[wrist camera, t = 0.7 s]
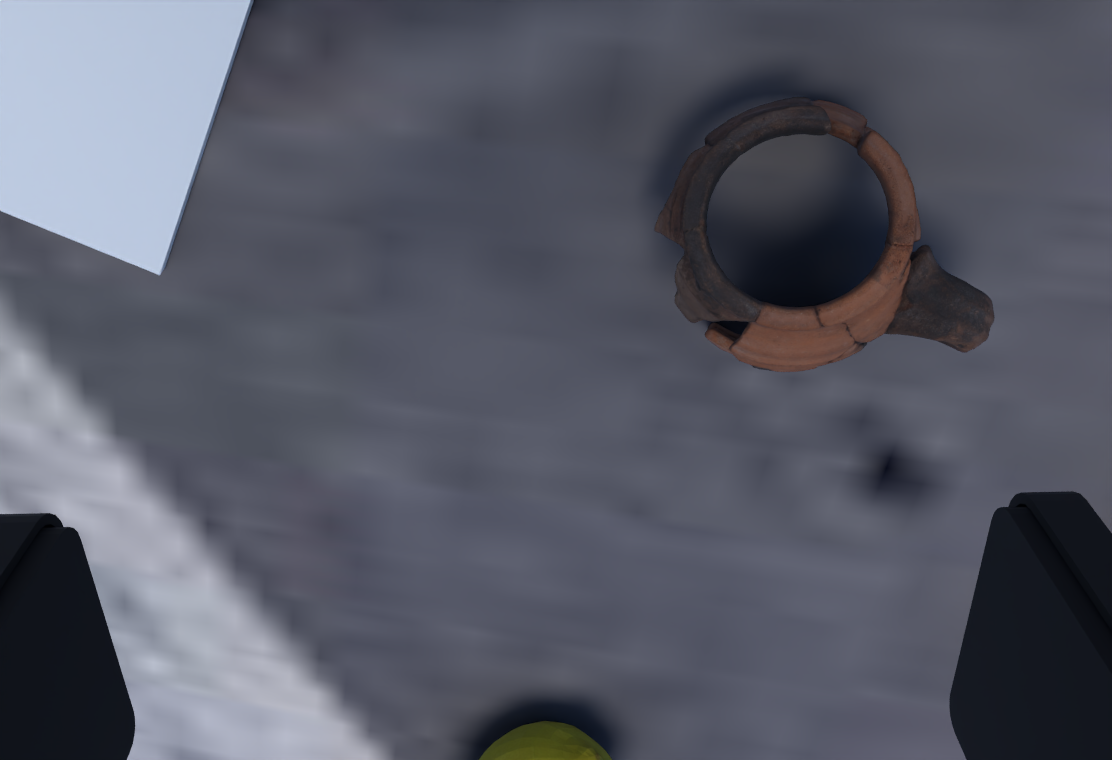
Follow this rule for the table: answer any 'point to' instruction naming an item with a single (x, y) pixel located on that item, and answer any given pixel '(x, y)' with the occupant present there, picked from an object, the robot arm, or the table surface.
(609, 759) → the lemon
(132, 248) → the flat white board
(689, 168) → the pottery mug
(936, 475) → the table surface
